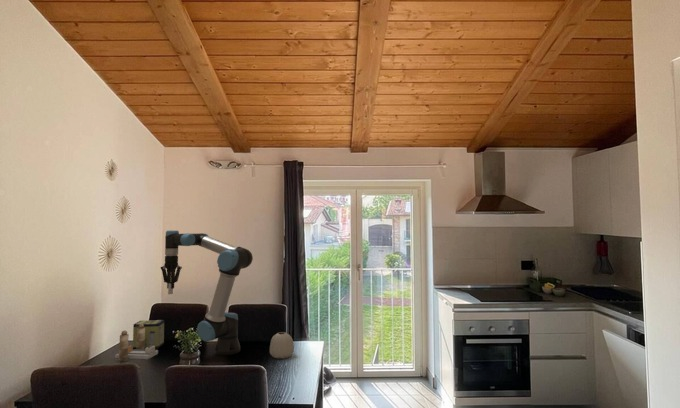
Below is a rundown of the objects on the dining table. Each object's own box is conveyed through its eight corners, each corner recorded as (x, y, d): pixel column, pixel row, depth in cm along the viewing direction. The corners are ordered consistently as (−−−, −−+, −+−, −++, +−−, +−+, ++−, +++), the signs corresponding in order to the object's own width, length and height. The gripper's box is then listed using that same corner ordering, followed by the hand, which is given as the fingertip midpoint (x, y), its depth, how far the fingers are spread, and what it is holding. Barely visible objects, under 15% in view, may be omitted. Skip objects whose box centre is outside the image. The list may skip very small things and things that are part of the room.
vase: (281, 351, 233) (281, 329, 234) (298, 355, 225) (298, 332, 226) (264, 357, 222) (264, 334, 223) (281, 362, 214) (282, 337, 215)
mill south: (146, 350, 236) (146, 323, 238) (141, 352, 232) (142, 324, 233) (139, 350, 237) (140, 323, 238) (134, 352, 232) (135, 324, 234)
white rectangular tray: (158, 353, 230) (158, 349, 230) (148, 359, 220) (148, 354, 220) (126, 352, 232) (126, 348, 232) (115, 358, 222) (115, 353, 222)
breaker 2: (154, 351, 228) (155, 344, 228) (150, 353, 223) (150, 346, 223) (150, 350, 228) (150, 344, 228) (145, 353, 223) (145, 346, 223)
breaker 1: (132, 350, 229) (132, 343, 229) (126, 353, 224) (127, 346, 224) (127, 350, 229) (127, 343, 230) (121, 352, 224) (122, 346, 225)
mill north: (129, 359, 220) (130, 329, 222) (124, 361, 216) (125, 331, 217) (122, 358, 221) (123, 329, 222) (117, 361, 216) (118, 331, 218)
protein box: (138, 345, 249) (139, 320, 250) (164, 344, 250) (164, 319, 251) (132, 349, 238) (132, 324, 239) (158, 348, 240) (159, 323, 241)
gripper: (184, 255, 242) (183, 293, 240) (164, 255, 243) (163, 292, 242) (178, 255, 235) (177, 295, 233) (158, 255, 236) (156, 294, 234)
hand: (170, 293), depth 237 cm, fingers closed
